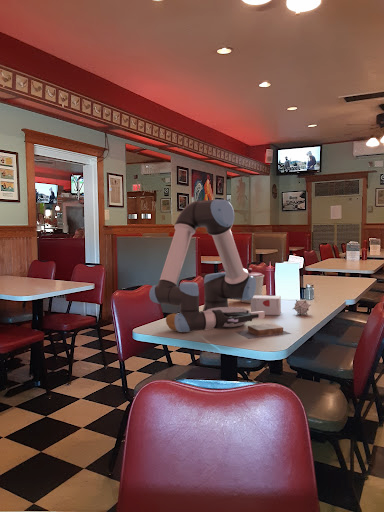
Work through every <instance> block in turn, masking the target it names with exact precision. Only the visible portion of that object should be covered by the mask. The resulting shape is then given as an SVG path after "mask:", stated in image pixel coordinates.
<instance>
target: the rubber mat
mask: <svg viewBox="0 0 384 512" xmlns="http://www.w3.org/2000/svg"><path fill="white" fill-rule="evenodd" d="M235 333H236V334H237V335H240V336H242V337H244V338H246V339H248V340H251V339H259V338H260V339H261V338H268V337H276V336H283V335H284V336H285V335H292V333H291V332H288V331H285V330H283V333H280V334H272V335H264V336H257V335H255V334H253V333H251V332H249V331H248V329H246V330H238V331H235Z"/></svg>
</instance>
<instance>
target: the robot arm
mask: <svg viewBox="0 0 384 512" xmlns="http://www.w3.org/2000/svg"><path fill="white" fill-rule="evenodd" d="M234 222H235V211H234V208H233V205H232V204H231V203H230V201H228V200H226V199H219V198H214V199H211V200H210V199H209V200H208V199H207V200H195V201H193V202H190V203H188V204H187V205H186V206H185V207H184V208H183V209H182V210H181V211H180V213H179V215H178V216H177V218H176V220H175V223H174V227H173V228H174V230H175V231H174V234H173V237H172V240H171V244H170V245H169V249H168V253H167V256H166V260H165V262H164V265H163V268H162V272H161V274H160V278H159V281H158V284H155V285H152V286H151V288H150V289H149V292H148V293H149V295H148V296H149V299H150V301H152V303H155V304H159V305H172V306H179V308H180V310H179V311H180V312H178V313H176V315H175V319H174V322H175V327H176V330H177V331H176V332H178V333H190V332H197V331H205V332H208V330H213V329H214V330H217V329H223V328H224V327H223V326H224V324H225V323H227V324H231V323H234V324H237V323H241V322H246V323H247V322H252V321H253V320H257V319H265V316H266V315H265V312H264V311H258V312H251V311H250V310H249V311H250V312H249V311H246V312H222V311H221V310H212V311H211V310H209V311H206V310H208V309H211V308H218V307H230V306H229V303H228V302H229V301H228V300H236V301H237V300H238V301H240V300H251V299H252V298H253V296H254V294H255V291H256V279H255V277H253V276H249V274H248V271H247V268H244V266H243V264H242V260H241V257H240V254H239V252H238V249H237V245H236V243H235V242H236V241H235V240H234V236H233V234H232V233H233V232H232V231H231V229H232V227H233V224H234ZM198 228H205V229H206V233H207V234H208V235H209V236H212V239H213V242H214V245H215V248H216V250H217V252H218V256H219V259H220V261H221V263H222V267H223V270H224V272H223V271H222V272H216V273H215V272H214V273H209V274H206V275H205V276H204V278H203V279H204V280H203V281H204V282H203V286H204V287H203V291H204V304H203V308H202V311H200V292H199V284H198V282H193V281H192V282H191V281H185V282H180V284H179V286H177V285H178V281H179V278H180V275H181V272H182V268H183V265H184V262H185V259H186V256H187V252H188V250H189V246H190V242H191V239H192V236H193V235H195V234H196V231H197V229H198Z"/></svg>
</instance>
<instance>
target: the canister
mask: <svg viewBox="0 0 384 512" xmlns="http://www.w3.org/2000/svg"><path fill="white" fill-rule="evenodd" d="M246 270H247V271H248V274H249V276H253V277H255V279H256V291H255V294H254V295H260V296H263V295H262V294H263V287H264V286H263V285H264V277H265V274H263V273H261V272H256V271H255V272H254V271H253V268H251V267H247V268H246ZM239 301H240V302H242V303H244V304H245V303H246V304H251V300H239Z"/></svg>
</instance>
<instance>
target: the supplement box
mask: <svg viewBox="0 0 384 512" xmlns="http://www.w3.org/2000/svg"><path fill="white" fill-rule="evenodd" d="M281 301H282V300H281V295H262V296H260V295H254V296H253V298H252V299H251V303H250V312H258V311H264V312H265V316H280V315H281V312H282V309H281V308H282V307H281V306H282V305H281V304H282V303H281Z"/></svg>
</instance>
